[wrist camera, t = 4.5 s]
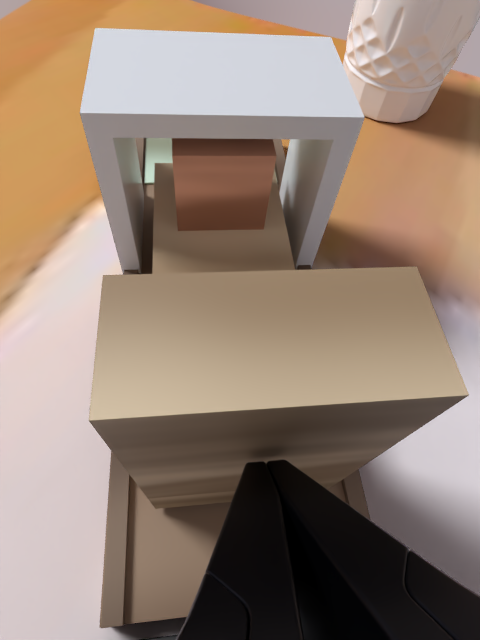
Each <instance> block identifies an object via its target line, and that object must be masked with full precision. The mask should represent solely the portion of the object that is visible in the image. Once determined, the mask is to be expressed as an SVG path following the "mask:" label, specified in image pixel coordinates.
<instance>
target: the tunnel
mask: <svg viewBox="0 0 480 640" xmlns="http://www.w3.org/2000/svg"><path fill="white" fill-rule="evenodd" d="M80 116H81V119H82V123H83V127H84V130H85V134H86V138H87V142H88V145H89V149H90V153H91V156H92V160H93V164H94V168H95V171H96V175H97V179H98V182H99V186H100V190H101V193H102V197H103V201H104V205H105V208H106V212H107V216H108V219H109V223H110V227H111V231H112V234H113V238H114V242H115V245H116V249H117V253H118V257H119V260H120V264H121V268H122V271H123V274H124V270H136V269H138V272H139V274H141V263H142V237H143V211H144V191H143V185H142V178H141V172H140V166H139V159H138V153H137V146H136V140H135V138H211V139H290V142H289V147H288V152H287V157H286V162H285V167H284V172H283V177H282V182H281V187H280V192H279V194H280V199H281V204H282V208H283V213H284V218H285V223H286V228H287V232H288V237H289V242H290V247H291V252H292V256H293V261H294V266H295V269H297V267H298V265H311V268H312V265H313V262H314V259H315V256H316V254H317V251H318V248H319V245H320V242H321V239H322V237H323V234H324V231H325V228H326V225H327V223H328V220H329V217H330V214H331V211H332V208H333V206H334V203H335V200H336V197H337V194H338V191H339V189H340V186H341V183H342V180H343V177H344V175H345V172H346V169H347V166H348V163H349V160H350V158H351V155H352V152H353V149H354V146H355V143H356V141H357V138H358V135H359V132H360V129H361V127H362V124H363V121H364V118H365V117H364V115H363V112H362V110H361V107H360V105H359V103H358V100H357V98H356V96H355V93H354V91H353V89H352V86H351V84H350V81H349V79H348V77H347V74H346V72H345V70H344V67H343V65H342V63H341V60H340V58H339V55H338V53H337V51H336V48H335V46H334V44H333V41H332V39H331V37H312V36H286V35H260V34H235V33H209V32H183V31H157V30H131V29H106V28H95V32H94V38H93V43H92V49H91V54H90V60H89V65H88V71H87V76H86V82H85V87H84V93H83V98H82V104H81V109H80Z"/></svg>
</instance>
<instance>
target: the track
mask: <svg viewBox="0 0 480 640" xmlns="http://www.w3.org/2000/svg"><path fill="white" fill-rule="evenodd" d="M135 140H136V146H137V153H138V159H139V166H140V172H141V178H142V185H143V191H144V211H143V237H142V263H141V274H152V268H153V219H154V170H155V163H173V160H172V138H135ZM273 142H274V147H275V151H276V162H275V168H274V170H275V175H276V180H277V184H278V189H279V192H280V187H281V182H282V177H283V172H284V167H285V162H286V158H285V154H284V150H283V146H282V141H281V139H273ZM295 270H312V269H311V265H298V267H297V269H295ZM132 274H139V272H138V269H136V270H124V274H123V275H132ZM328 490H329V491H330V492H331V493H333V494H334V495H336V496H337V497H338V498H340V499H341V500H343V501H344V502H345V503H347V504H348V505H350V506H351V507H352V508H354V509H355V510H356V511H358V512H359V513H361V514H362V515H363V516H365V517H366V518H368V519H369V520H370V516H369V512H368V508H367V504H366V499H365V495H364V491H363V487H362V482H361V478H360V474H359V469H358V470H356V471H355V472H353V473H352V474H350V475H349V476H347V477H346V478H344V479H343V480H341V481H340V482H338V483H337V484H335V485H334V486H332V487H331V488H329V489H328ZM230 504H231V502H226V503H215V504H204V505H193V506H182V507H171V508H160V509H155V507H154V506H153V505H152V504H151V502H150V501H149V500H148V498H147V497H146V496H145V494H144V493H143V492H142V490H141V489H140V488H139V486H138V485H137V484H136V482H135V481H134V480H133V478H132V477H131V476H130V474H129V473H128V472H127V470H126V469H125V468H124V467H123V465H122V464H121V463H120V461H119V460H118V459H117V457H116V456H115V455H114V453H113V452H112V451H111V464H110V479H109V494H108V509H107V524H106V539H105V554H104V569H103V584H102V599H101V614H100V627H101V628H107V627H115V626H123V625H124V624H132V623H140V622H148V621H157V620H165V619H173V618H181V617H187V616H188V613H189V611H190V609H191V606H192V604H193V601H194V599H195V597H196V594H197V592H198V589H199V586H200V584H201V581H202V578H203V576H204V574H205V571H206V568H207V566H208V563H209V560H210V558H211V555H212V552H213V550H214V547H215V544H216V542H217V539H218V536H219V534H220V531H221V528H222V525H223V523H224V520H225V517H226V515H227V512H228V509H229V507H230Z"/></svg>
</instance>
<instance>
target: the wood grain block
mask: <svg viewBox="0 0 480 640" xmlns="http://www.w3.org/2000/svg"><path fill="white" fill-rule="evenodd" d="M172 160H173V163H155V170H154V219H153V268H152V274H132V275H103V281H102V291H101V301H100V311H99V321H98V331H97V342H96V352H95V362H94V372H93V382H92V392H91V402H90V413H89V422H90V423H91V424H92V426H93V427H94V428H95V429H96V431H97V432H98V433H99V435H100V436H101V437H102V439H103V440H104V441H105V443H106V444H107V445H108V447H109V448H110V449H111V451H112V452H113V453H114V455H115V456H116V457H117V459H118V460H119V461H120V463H121V464H122V465H123V467H124V468H125V469H126V470H127V472H128V473H129V474H130V476H131V477H132V478H133V480H134V481H135V482H136V484H137V485H138V486H139V488H140V489H141V490H142V492H143V493H144V494H145V496H146V497H147V498H148V500H149V501H150V502H151V504H152V505H153V506H154V507H155V509H160V508H171V507H182V506H193V505H204V504H215V503H226V502H231V501H232V499H233V496H234V493H235V491H236V488H237V485H238V483H239V480H240V477H241V475H242V472H243V469H244V466H245V464H246V463H248V462H258V461H264V462H265V463H267V461H270V460H282V459H284V460H287V461H288V462H290V463H291V464H292V465H294V466H295V467H297V468H298V469H299V470H301V471H302V472H304V473H305V474H306V475H308V476H309V477H310V478H312V479H313V480H315V481H316V482H317V483H319V484H320V485H322V486H323V487H324V488H326V489H327V490H328V489H329V488H331V487H332V486H334V485H335V484H337V483H338V482H340V481H341V480H343V479H344V478H346V477H347V476H349V475H350V474H352V473H353V472H355V471H356V470H358V469H359V468H361V467H362V466H364V465H365V464H367V463H368V462H370V461H371V460H373V459H374V458H376V457H377V456H379V455H380V454H382V453H383V452H385V451H386V450H388V449H389V448H391V447H392V446H394V445H395V444H396V443H398V442H399V441H401V440H402V439H404V438H405V437H407V436H408V435H410V434H411V433H413V432H414V431H416V430H417V429H419V428H420V427H422V426H423V425H425V424H426V423H428V422H429V421H431V420H432V419H434V418H435V417H437V416H438V415H440V414H441V413H443V412H444V411H446V410H447V409H449V408H450V407H452V406H453V405H455V404H456V403H458V402H459V401H461V400H462V399H464V398H465V397H467V396H468V395H469V394H468V392H467V389H466V387H465V384H464V382H463V379H462V377H461V374H460V372H459V369H458V367H457V364H456V362H455V360H454V357H453V355H452V352H451V350H450V347H449V345H448V342H447V340H446V337H445V335H444V332H443V330H442V327H441V325H440V322H439V320H438V318H437V315H436V313H435V310H434V308H433V305H432V303H431V300H430V298H429V295H428V293H427V290H426V288H425V285H424V283H423V281H422V278H421V276H420V273H419V271H418V268H417V267H383V268H347V269H312V270H295V266H294V261H293V256H292V252H291V247H290V242H289V237H288V232H287V228H286V223H285V218H284V213H283V208H282V204H281V199H280V194H279V189H278V184H277V180H276V175H275V170H274V168H275V162H276V151H275V147H274V142H273V139H211V138H172Z"/></svg>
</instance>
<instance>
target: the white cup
mask: <svg viewBox="0 0 480 640" xmlns="http://www.w3.org/2000/svg"><path fill="white" fill-rule="evenodd" d="M479 18H480V0H355V2H354V8H353V12H352V17H351V21H350V26H349V31H348V37H347V40H346V53H345V57H344V61H343V67H344V70H345V72H346V74H347V77H348V79H349V81H350V84H351V86H352V89H353V91H354V93H355V96H356V98H357V100H358V103H359V105H360V107H361V110H362V112H363V115H364V116H366V117H369V118H371V119H374V120H377V121H384V122H392V123H401V122H407V121H413V120H416V119H417V118H419V117H420V116H422V115H423V114H424V113H426V112H427V110H428V109H429V107H430V105H431V103H432V101H433V99H434V97H435V96H436V94H437V92H438V90H439V88H440V86H441V84H442V82H443V80H444V78H445V76H446V75H447V74H448V72H449V71H450V69H451V68H452V66H453V65H454V63H455V61H456V60H457V58H458V56H459V54H460V52H461V50H462V48H463V46H464V44H465V43H466V41H467V40H468V38H469V37H470V35H471V33H472V31H473V29H474V28H475V26H476V24H477V22H478V20H479Z"/></svg>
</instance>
